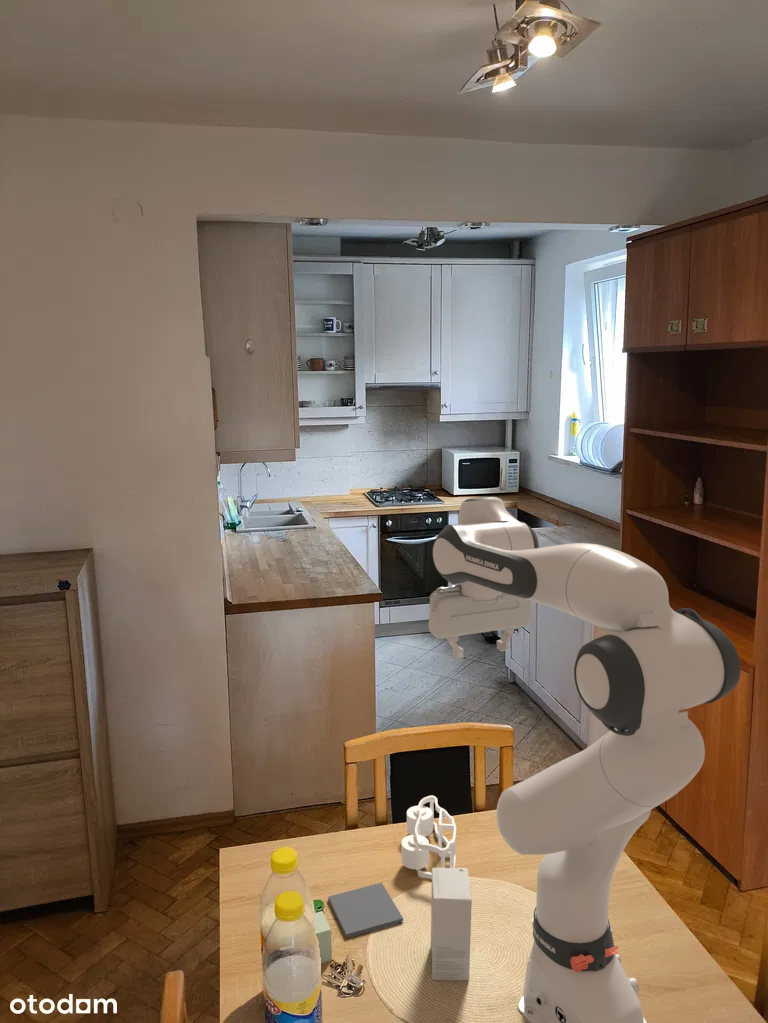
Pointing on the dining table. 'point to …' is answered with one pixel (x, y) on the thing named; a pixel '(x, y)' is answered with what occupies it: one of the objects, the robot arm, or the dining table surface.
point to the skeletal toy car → (416, 843)
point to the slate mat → (364, 910)
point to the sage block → (323, 936)
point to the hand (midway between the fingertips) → (480, 653)
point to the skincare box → (450, 923)
